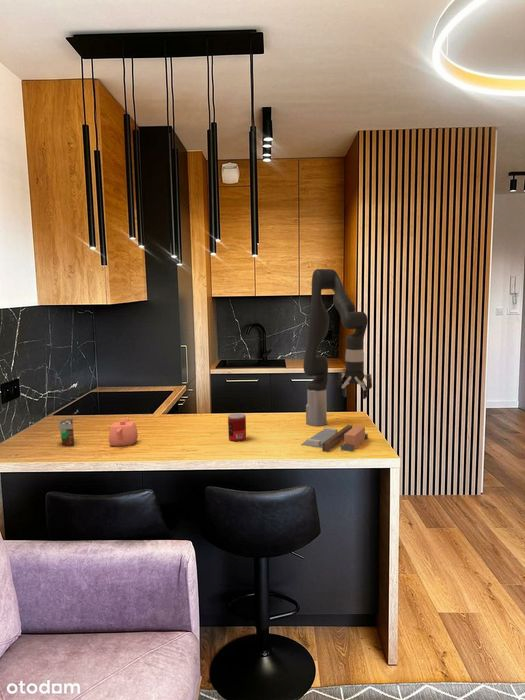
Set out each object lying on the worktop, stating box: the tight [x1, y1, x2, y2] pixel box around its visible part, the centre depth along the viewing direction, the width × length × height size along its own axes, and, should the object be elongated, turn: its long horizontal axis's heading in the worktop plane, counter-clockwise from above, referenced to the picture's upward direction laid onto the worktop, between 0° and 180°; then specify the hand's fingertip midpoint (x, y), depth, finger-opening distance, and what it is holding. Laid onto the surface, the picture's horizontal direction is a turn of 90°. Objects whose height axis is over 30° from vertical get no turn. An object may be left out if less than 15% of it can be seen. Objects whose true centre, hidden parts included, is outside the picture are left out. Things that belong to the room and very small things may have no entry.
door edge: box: [321, 424, 353, 453], centre depth 222 cm, size 2×30×4 cm, turn 151°
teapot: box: [108, 416, 139, 447], centre depth 227 cm, size 12×18×10 cm, turn 1°
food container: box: [57, 417, 75, 447], centre depth 228 cm, size 12×6×10 cm, turn 21°
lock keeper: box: [300, 427, 338, 449], centre depth 226 cm, size 10×22×2 cm, turn 150°
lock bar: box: [343, 425, 366, 450], centre depth 218 cm, size 4×14×6 cm, turn 151°
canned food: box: [227, 412, 247, 443], centre depth 228 cm, size 8×8×11 cm
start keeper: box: [340, 432, 369, 452], centre depth 218 cm, size 5×20×2 cm, turn 150°
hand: (354, 397), depth 216 cm, fingers open, 8 cm apart
